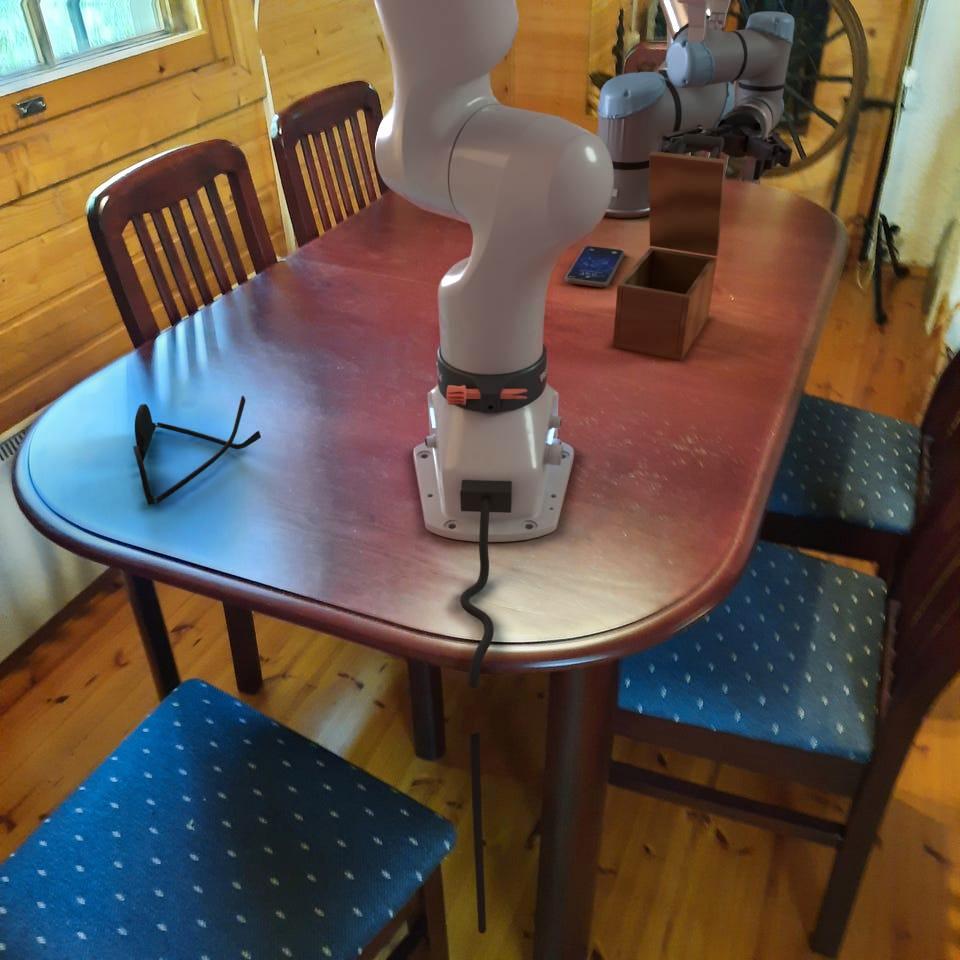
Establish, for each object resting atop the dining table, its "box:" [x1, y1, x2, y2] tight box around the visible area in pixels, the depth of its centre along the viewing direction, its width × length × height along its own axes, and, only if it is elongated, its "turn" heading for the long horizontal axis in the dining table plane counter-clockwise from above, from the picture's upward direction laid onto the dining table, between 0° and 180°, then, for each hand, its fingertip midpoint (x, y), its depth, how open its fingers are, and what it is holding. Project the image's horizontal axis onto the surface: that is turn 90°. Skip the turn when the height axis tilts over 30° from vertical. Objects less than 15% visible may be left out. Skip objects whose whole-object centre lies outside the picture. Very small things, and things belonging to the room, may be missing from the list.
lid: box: [649, 134, 726, 257], centre depth 121 cm, size 15×10×9 cm
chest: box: [612, 247, 718, 362], centre depth 122 cm, size 15×10×10 cm
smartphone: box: [564, 245, 625, 288], centre depth 144 cm, size 7×1×15 cm
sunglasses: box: [132, 395, 262, 506], centre depth 100 cm, size 17×14×5 cm
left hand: (706, 35), depth 106 cm, fingers open, 8 cm apart
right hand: (710, 164), depth 127 cm, fingers open, 13 cm apart
